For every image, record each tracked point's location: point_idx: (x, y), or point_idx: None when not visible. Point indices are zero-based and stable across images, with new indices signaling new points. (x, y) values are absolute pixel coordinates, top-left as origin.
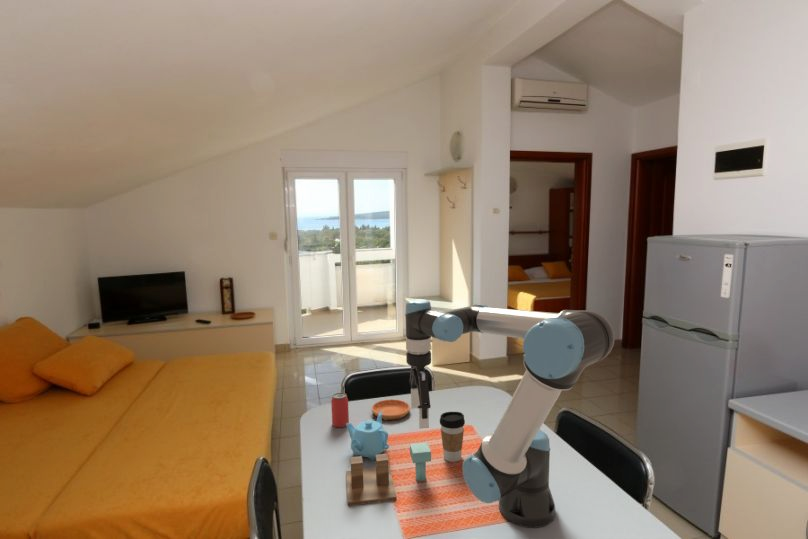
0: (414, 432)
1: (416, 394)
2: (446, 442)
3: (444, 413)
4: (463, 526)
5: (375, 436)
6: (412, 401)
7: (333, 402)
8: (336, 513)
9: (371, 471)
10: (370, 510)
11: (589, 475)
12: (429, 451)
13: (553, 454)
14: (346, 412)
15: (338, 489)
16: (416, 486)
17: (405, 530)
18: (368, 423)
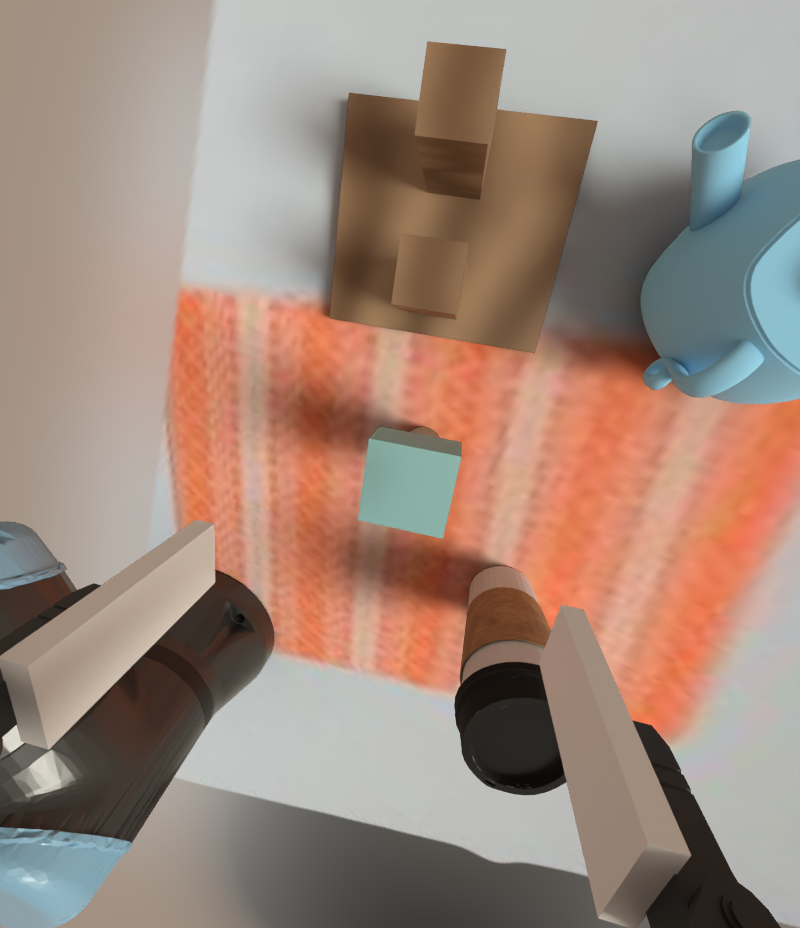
0: (764, 553)
1: (588, 788)
2: (487, 613)
3: None
4: (179, 464)
5: (712, 310)
6: (577, 670)
7: None
8: (319, 34)
9: (532, 260)
10: (302, 200)
11: (294, 791)
12: (361, 514)
13: (395, 796)
14: None
15: None
16: (384, 413)
17: (186, 299)
18: None
